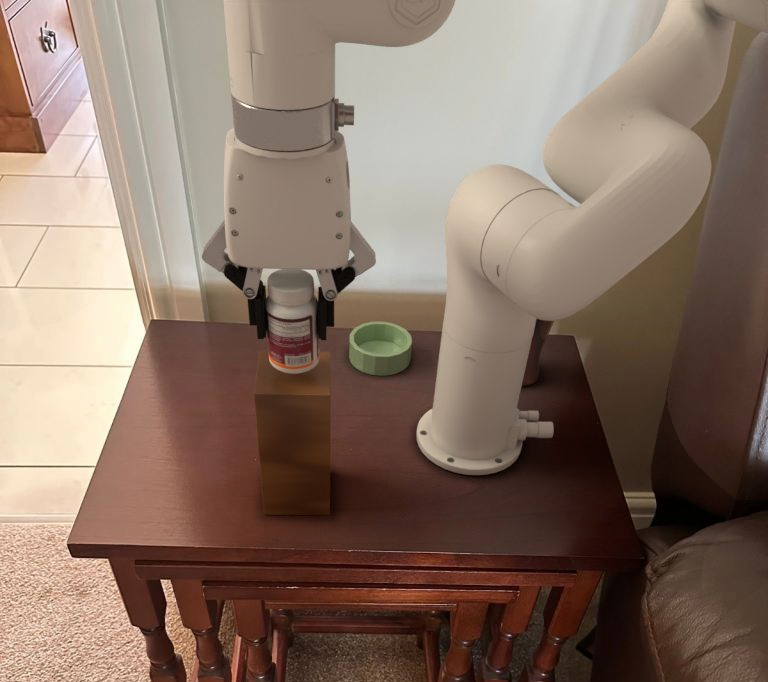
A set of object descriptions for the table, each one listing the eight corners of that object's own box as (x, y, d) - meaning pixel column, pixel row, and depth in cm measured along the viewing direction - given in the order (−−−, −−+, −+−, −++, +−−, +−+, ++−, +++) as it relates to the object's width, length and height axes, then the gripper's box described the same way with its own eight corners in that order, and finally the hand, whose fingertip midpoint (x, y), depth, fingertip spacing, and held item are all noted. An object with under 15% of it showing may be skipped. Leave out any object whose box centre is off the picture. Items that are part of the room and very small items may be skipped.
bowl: (408, 341, 107) (409, 322, 105) (412, 376, 102) (414, 357, 99) (348, 339, 107) (349, 320, 105) (349, 375, 101) (349, 355, 99)
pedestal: (330, 471, 88) (330, 351, 77) (329, 515, 83) (330, 394, 72) (268, 470, 88) (259, 350, 76) (264, 515, 83) (253, 393, 71)
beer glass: (540, 392, 100) (565, 288, 90) (486, 384, 101) (505, 279, 90) (543, 362, 105) (567, 259, 95) (492, 354, 106) (510, 251, 95)
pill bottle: (285, 340, 75) (281, 260, 69) (328, 355, 74) (328, 274, 68) (258, 365, 72) (252, 284, 66) (303, 380, 71) (300, 298, 65)
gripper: (395, 106, 61) (383, 311, 74) (175, 98, 60) (203, 307, 73) (401, 143, 56) (387, 356, 69) (160, 135, 55) (193, 353, 68)
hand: (292, 329), depth 71 cm, fingers closed on pill bottle, 4 cm apart
